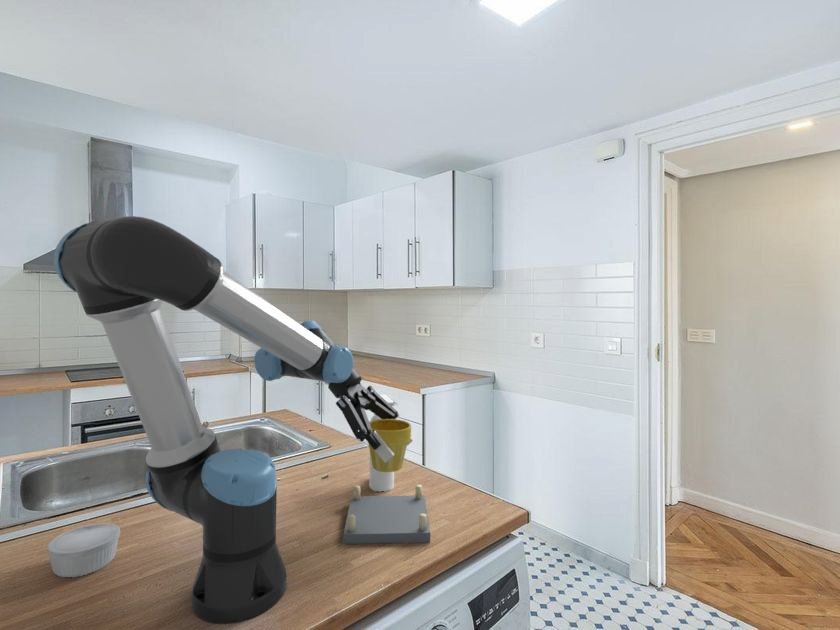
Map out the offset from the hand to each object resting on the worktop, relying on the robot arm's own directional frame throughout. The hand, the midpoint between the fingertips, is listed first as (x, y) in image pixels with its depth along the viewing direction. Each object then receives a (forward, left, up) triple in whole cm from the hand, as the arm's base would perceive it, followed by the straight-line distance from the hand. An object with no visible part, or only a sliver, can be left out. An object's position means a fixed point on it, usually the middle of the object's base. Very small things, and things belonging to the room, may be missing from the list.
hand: (400, 450), depth 103 cm
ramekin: (-13, +60, -17) cm, 63 cm away
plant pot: (+1, +3, -4) cm, 5 cm away
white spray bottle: (+21, +5, -17) cm, 28 cm away
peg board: (+1, +3, -17) cm, 17 cm away
